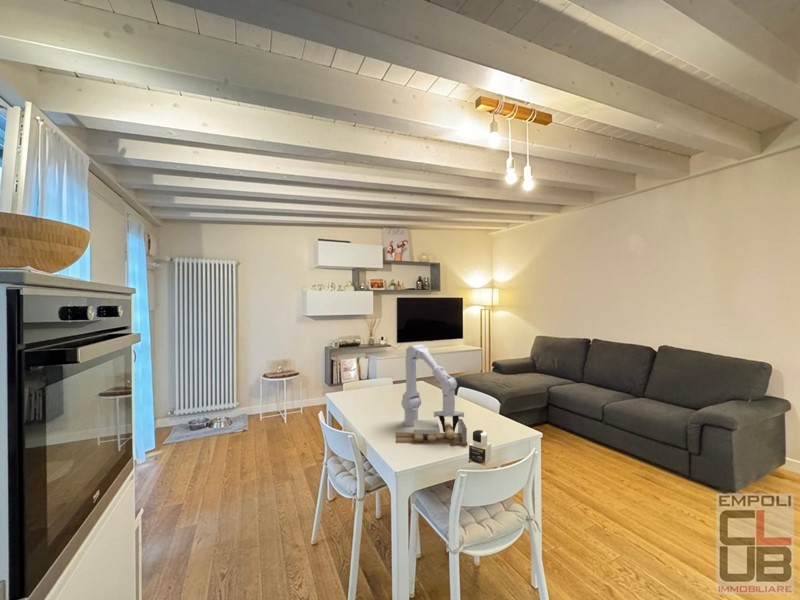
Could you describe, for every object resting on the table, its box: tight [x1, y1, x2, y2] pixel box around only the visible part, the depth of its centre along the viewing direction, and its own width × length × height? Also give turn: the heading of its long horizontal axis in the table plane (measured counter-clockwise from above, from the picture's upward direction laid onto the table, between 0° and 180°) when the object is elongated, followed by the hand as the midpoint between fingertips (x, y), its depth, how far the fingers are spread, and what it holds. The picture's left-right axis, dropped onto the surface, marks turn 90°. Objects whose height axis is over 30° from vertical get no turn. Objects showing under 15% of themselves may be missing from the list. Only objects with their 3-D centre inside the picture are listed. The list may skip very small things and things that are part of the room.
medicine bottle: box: [468, 429, 492, 466], centre depth 142 cm, size 7×7×12 cm
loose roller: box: [444, 421, 455, 439], centre depth 162 cm, size 10×4×4 cm, turn 0°
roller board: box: [395, 418, 469, 447], centre depth 162 cm, size 12×34×8 cm, turn 90°
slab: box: [412, 419, 441, 434], centre depth 162 cm, size 12×12×2 cm
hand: (448, 431), depth 162 cm, fingers closed on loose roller, 4 cm apart
